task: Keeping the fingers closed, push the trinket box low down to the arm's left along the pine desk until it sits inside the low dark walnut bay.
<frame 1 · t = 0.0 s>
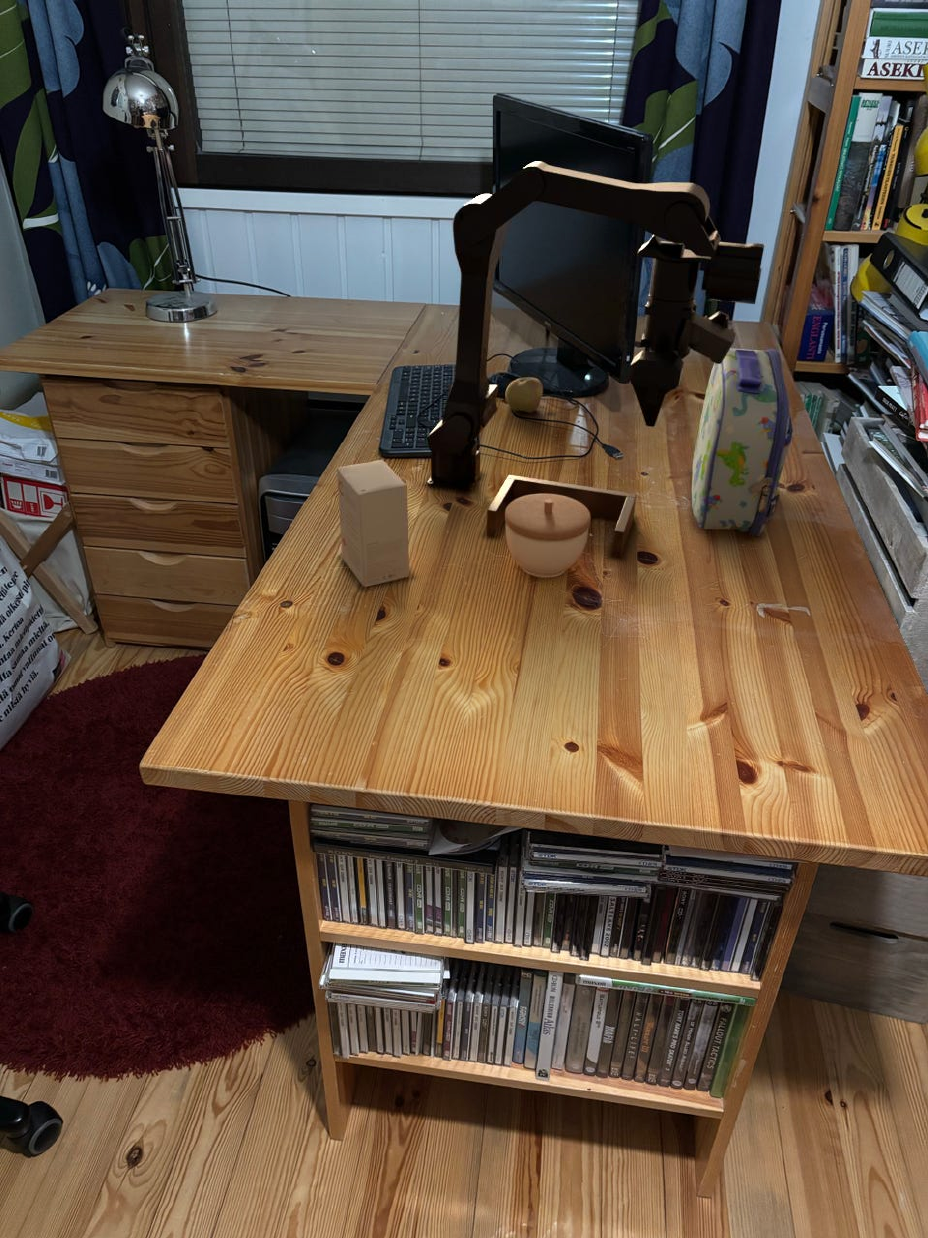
hand: (655, 412, 126), 15 cm above the table, tool pointing down, fingers open, 9 cm apart
small box: (375, 568, 120), on the table
lunch box: (726, 503, 136), on the table
trinket box: (543, 566, 121), on the table
apple: (527, 411, 164), on the table
walnut bay: (557, 536, 128), on the table
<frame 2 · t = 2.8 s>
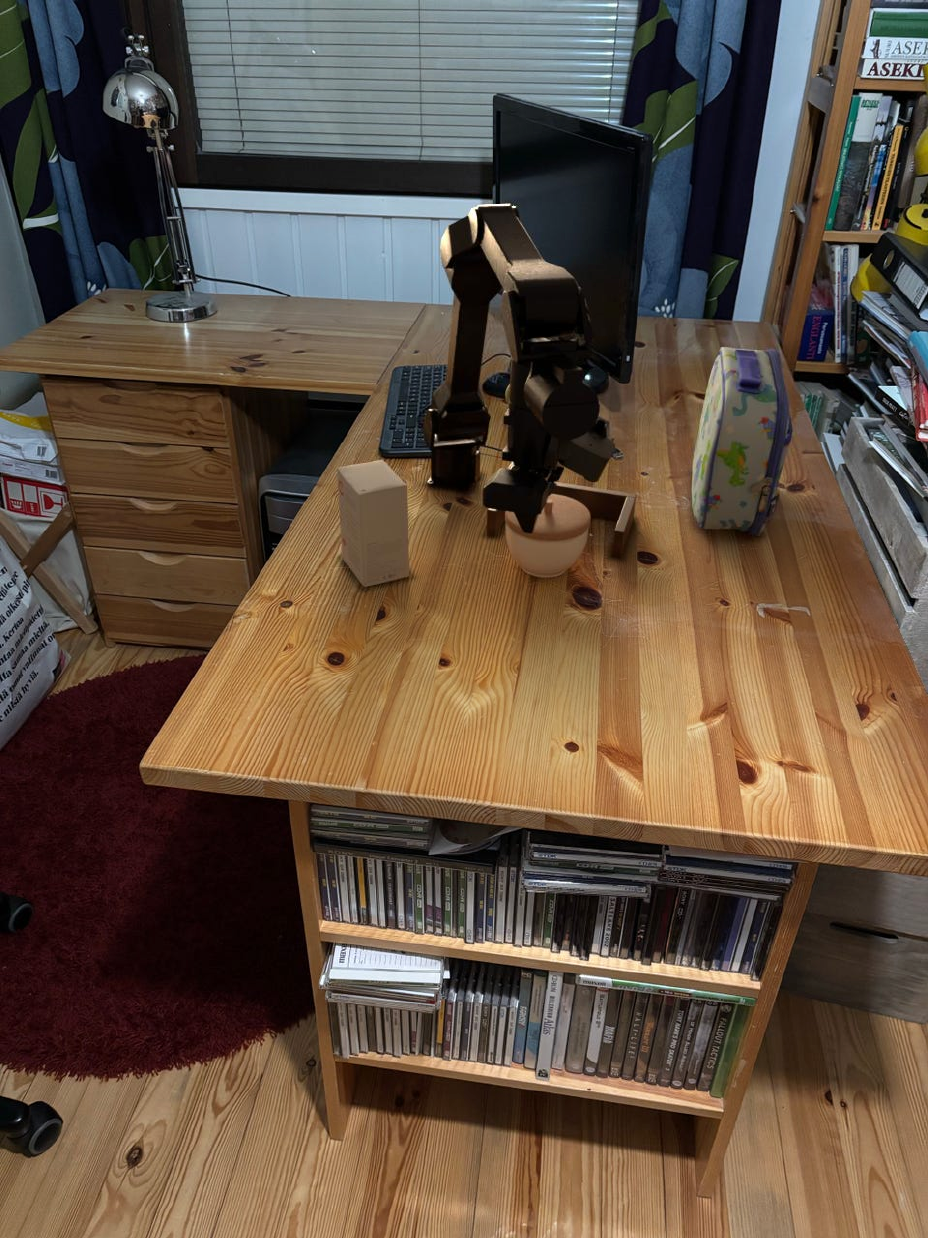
hand: (528, 531, 106), 11 cm above the table, tool pointing down, fingers closed
nothing on the table moved.
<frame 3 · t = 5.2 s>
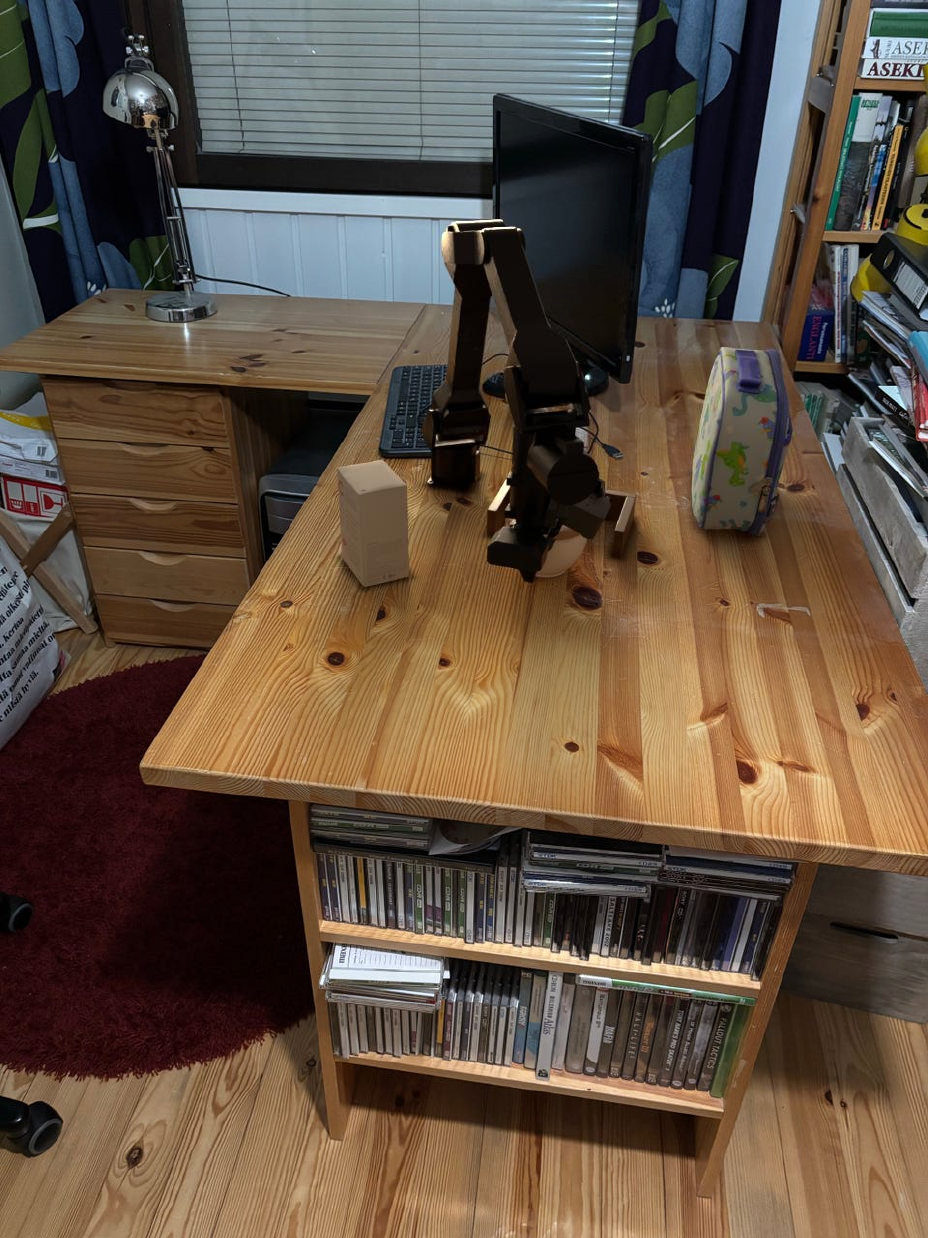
hand: (529, 581, 113), 3 cm above the table, tool pointing down, fingers closed
trinket box: (543, 566, 121), on the table, touching gripper
everything else where it was.
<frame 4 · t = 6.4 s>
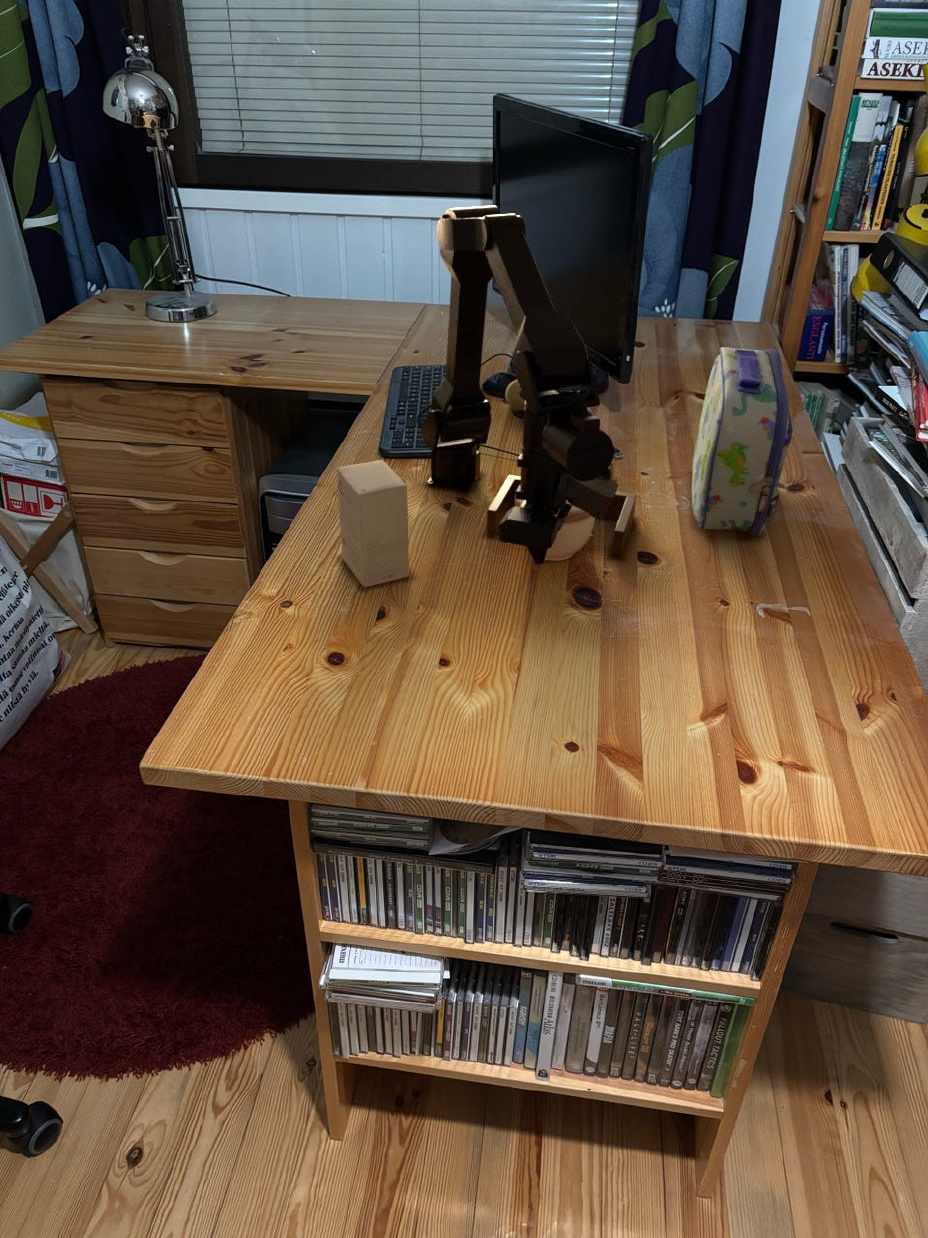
hand: (539, 562, 116), 3 cm above the table, tool pointing down, fingers closed
trinket box: (552, 550, 125), on the table, touching gripper
everything else where it was.
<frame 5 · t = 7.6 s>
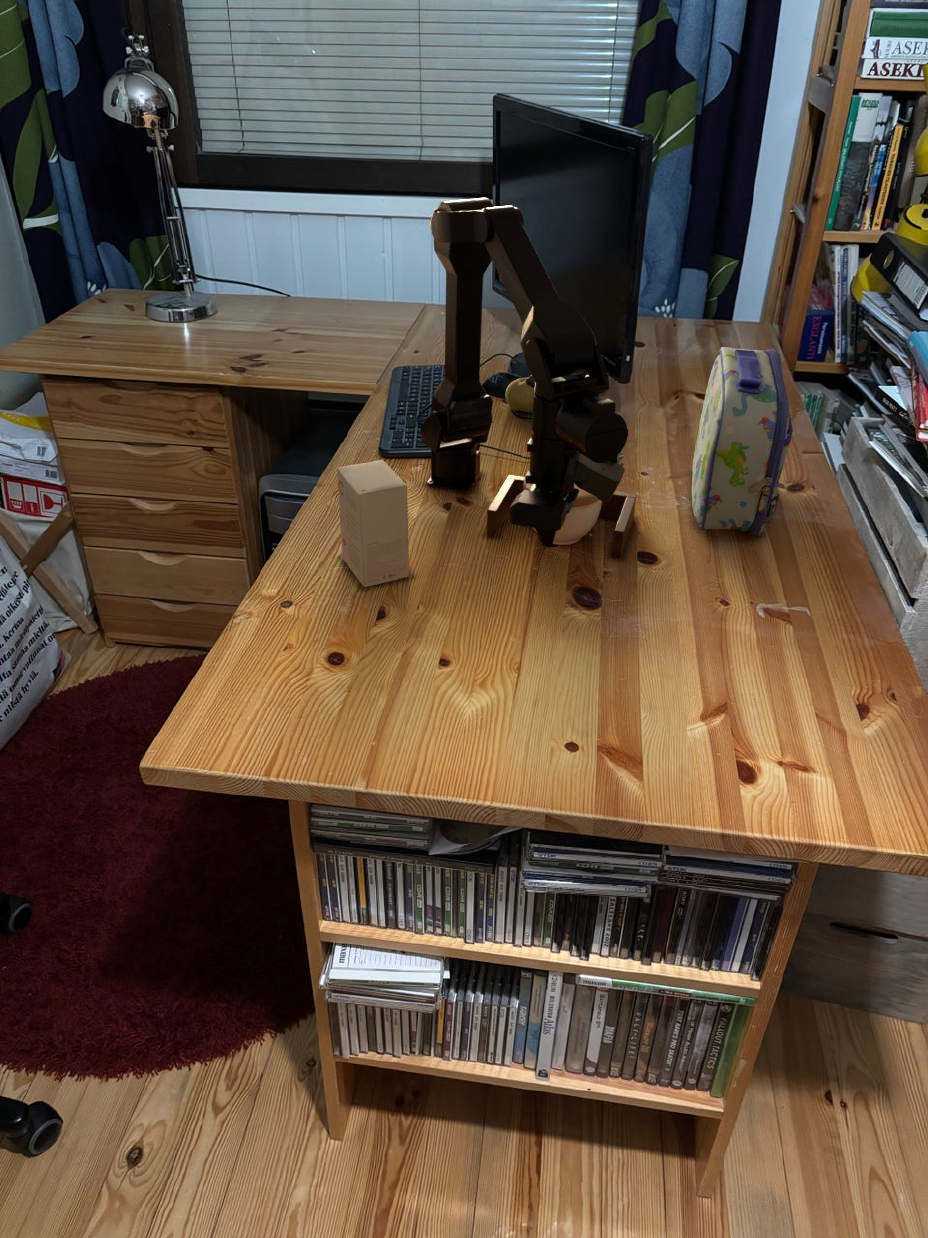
hand: (547, 545, 120), 3 cm above the table, tool pointing down, fingers closed
trinket box: (559, 535, 128), on the table, touching gripper
everything else where it was.
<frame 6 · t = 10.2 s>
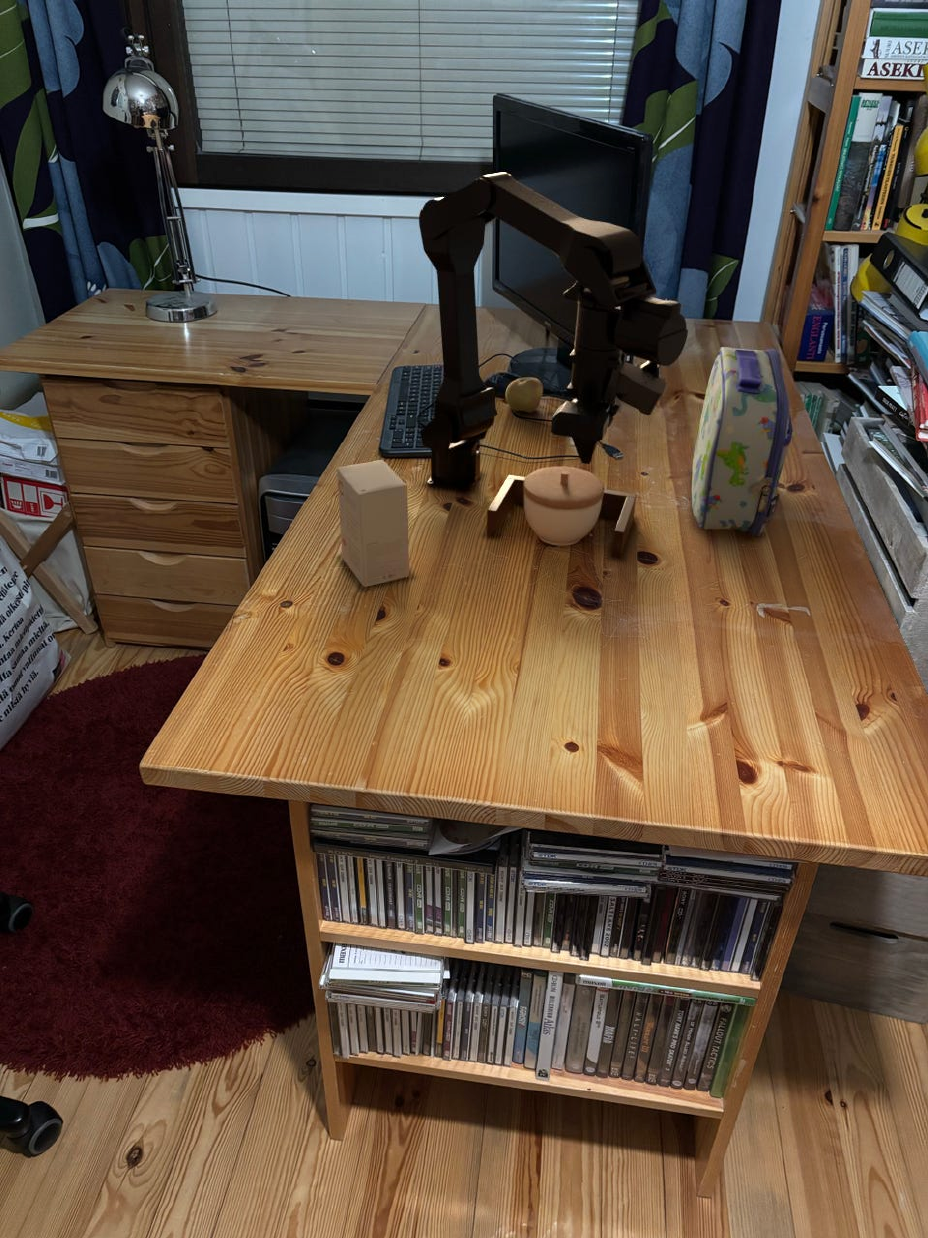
hand: (586, 462, 120), 11 cm above the table, tool pointing down, fingers closed
trinket box: (559, 535, 128), on the table
everything else where it was.
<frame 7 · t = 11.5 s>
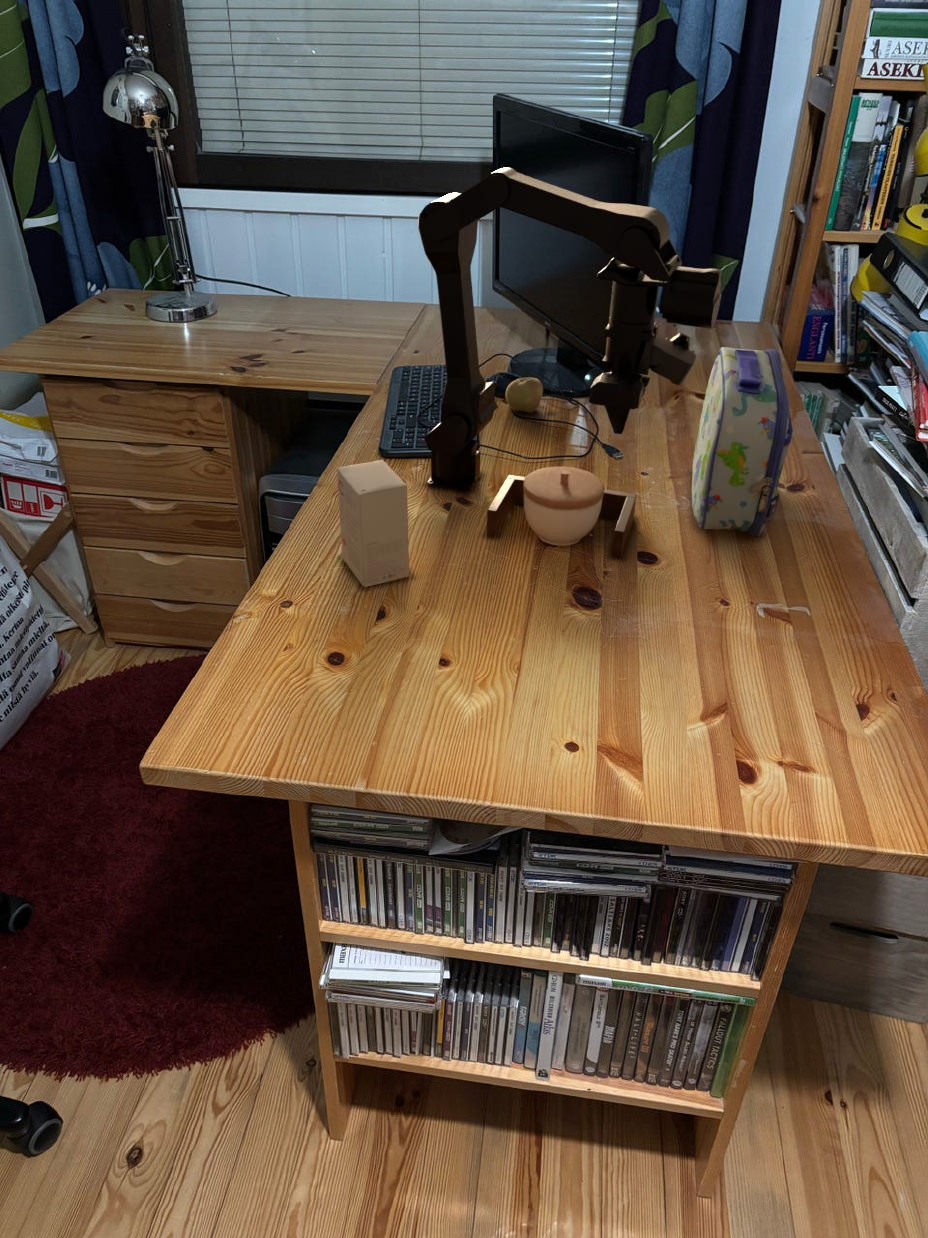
hand: (618, 432, 127), 12 cm above the table, tool pointing down, fingers closed
nothing on the table moved.
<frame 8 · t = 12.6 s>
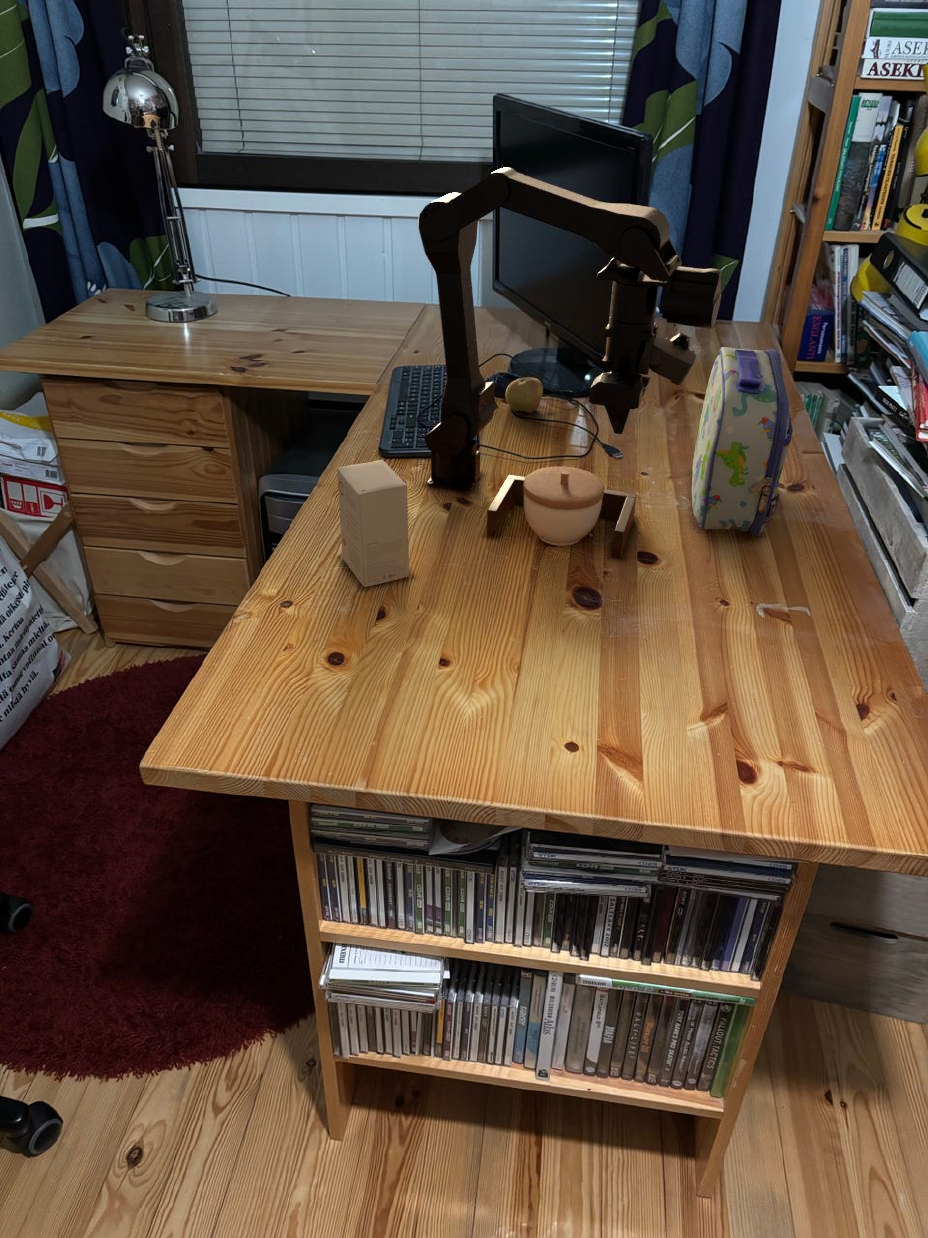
hand: (618, 432, 127), 12 cm above the table, tool pointing down, fingers closed
nothing on the table moved.
at the end: trinket box inside the target area on the walnut bay (0.5 cm from its centre), point 0.0 cm above the walnut bay's base; trinket box tilted 0°; trinket box moved 8.5 cm from its start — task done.
